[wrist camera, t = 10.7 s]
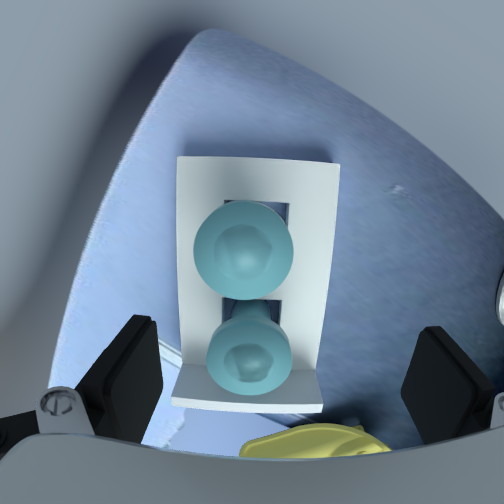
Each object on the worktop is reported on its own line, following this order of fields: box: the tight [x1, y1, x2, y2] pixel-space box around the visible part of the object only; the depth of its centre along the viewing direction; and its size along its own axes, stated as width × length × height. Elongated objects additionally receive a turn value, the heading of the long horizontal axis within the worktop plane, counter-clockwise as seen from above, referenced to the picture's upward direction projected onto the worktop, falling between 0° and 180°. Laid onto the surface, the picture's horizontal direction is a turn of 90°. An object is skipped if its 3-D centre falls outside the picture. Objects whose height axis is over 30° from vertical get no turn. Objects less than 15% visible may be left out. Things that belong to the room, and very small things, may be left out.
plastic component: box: [239, 423, 393, 458], centre depth 37 cm, size 20×7×10 cm
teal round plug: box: [193, 200, 294, 300], centre depth 26 cm, size 7×7×9 cm
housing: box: [171, 156, 340, 413], centre depth 27 cm, size 14×22×8 cm, turn 177°
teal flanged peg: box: [206, 299, 292, 395], centre depth 28 cm, size 7×7×9 cm
